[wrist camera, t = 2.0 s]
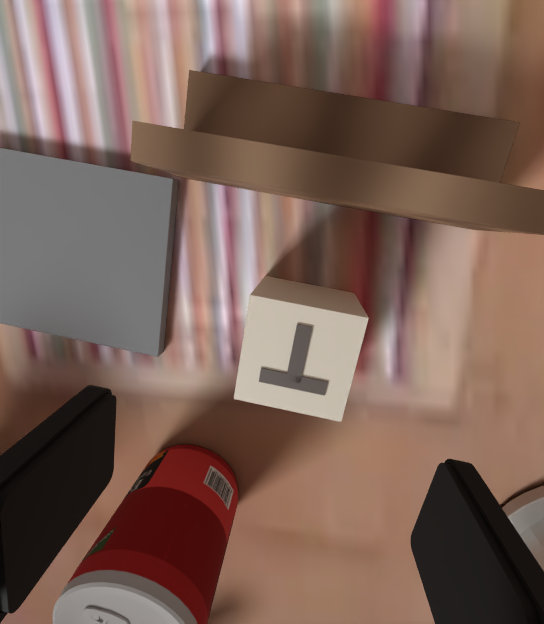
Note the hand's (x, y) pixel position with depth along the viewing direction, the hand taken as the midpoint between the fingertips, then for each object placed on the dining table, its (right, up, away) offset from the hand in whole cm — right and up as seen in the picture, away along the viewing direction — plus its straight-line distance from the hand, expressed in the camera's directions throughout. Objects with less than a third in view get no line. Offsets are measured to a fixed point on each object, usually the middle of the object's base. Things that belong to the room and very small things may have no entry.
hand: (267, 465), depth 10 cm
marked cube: (+2, +3, +14) cm, 14 cm away
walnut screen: (+4, +14, +11) cm, 18 cm away
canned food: (-6, -10, +19) cm, 22 cm away
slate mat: (-13, +8, +14) cm, 21 cm away
